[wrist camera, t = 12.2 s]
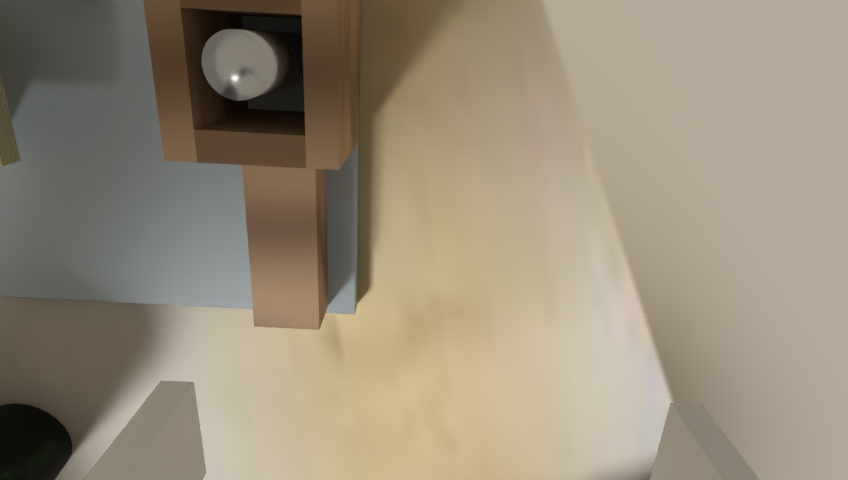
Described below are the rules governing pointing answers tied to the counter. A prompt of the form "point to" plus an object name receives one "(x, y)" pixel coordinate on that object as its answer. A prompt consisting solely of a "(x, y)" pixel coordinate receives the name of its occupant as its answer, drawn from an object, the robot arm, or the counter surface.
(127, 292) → the board
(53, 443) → the cup
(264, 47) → the cylinder
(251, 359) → the counter surface
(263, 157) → the link
